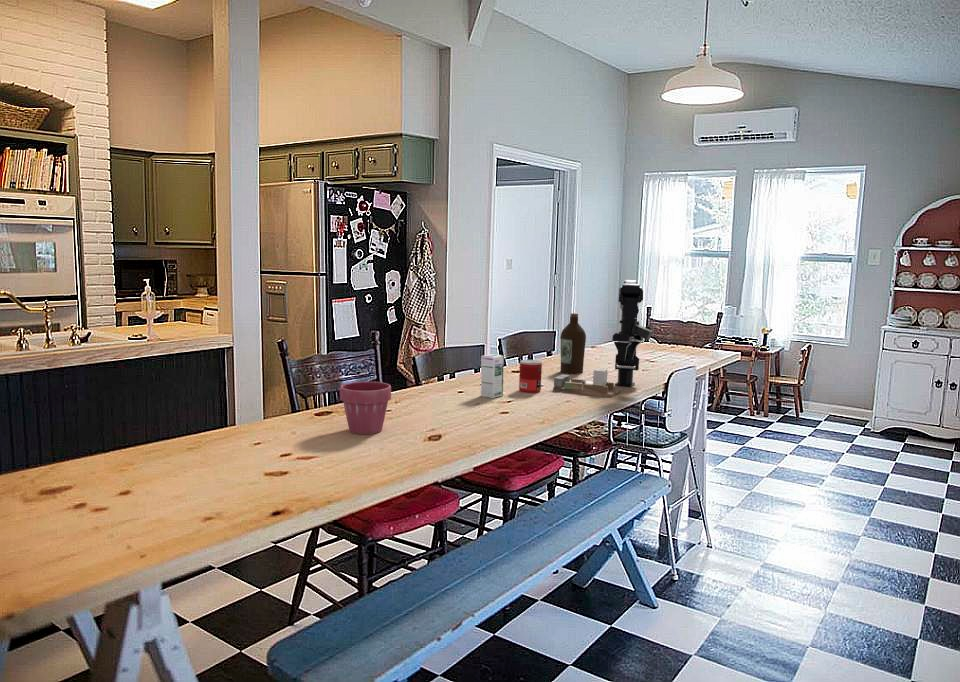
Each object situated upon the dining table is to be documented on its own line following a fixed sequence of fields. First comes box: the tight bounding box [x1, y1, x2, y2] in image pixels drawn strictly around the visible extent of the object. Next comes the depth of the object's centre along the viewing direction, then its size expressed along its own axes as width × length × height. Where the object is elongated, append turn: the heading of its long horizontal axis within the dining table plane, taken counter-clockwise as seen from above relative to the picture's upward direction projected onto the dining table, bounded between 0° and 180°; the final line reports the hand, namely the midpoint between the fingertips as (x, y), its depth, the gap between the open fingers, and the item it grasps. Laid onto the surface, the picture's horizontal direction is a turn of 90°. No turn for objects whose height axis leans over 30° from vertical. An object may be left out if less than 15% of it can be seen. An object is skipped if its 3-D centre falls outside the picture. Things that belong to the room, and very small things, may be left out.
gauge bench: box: [552, 373, 620, 398], centre depth 264 cm, size 11×22×4 cm, turn 64°
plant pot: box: [339, 381, 392, 435], centre depth 200 cm, size 14×14×13 cm
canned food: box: [518, 359, 543, 394], centre depth 262 cm, size 8×8×11 cm
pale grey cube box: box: [581, 368, 608, 386], centre depth 262 cm, size 7×8×7 cm
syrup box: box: [480, 353, 504, 399], centre depth 250 cm, size 6×6×14 cm
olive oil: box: [559, 312, 587, 375], centre depth 303 cm, size 11×11×25 cm
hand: (627, 360), depth 263 cm, fingers open, 9 cm apart
